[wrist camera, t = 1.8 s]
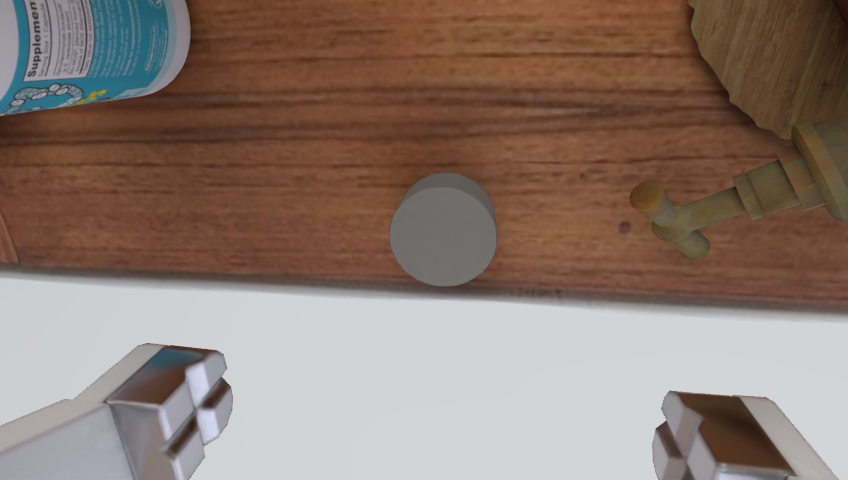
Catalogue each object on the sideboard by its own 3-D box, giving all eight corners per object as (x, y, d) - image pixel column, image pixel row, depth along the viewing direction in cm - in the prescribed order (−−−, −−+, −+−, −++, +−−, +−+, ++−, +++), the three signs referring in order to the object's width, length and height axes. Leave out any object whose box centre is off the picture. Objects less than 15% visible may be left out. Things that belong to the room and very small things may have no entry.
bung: (403, 249, 25) (389, 283, 21) (403, 163, 23) (388, 184, 19) (491, 254, 24) (492, 290, 21) (498, 167, 22) (501, 189, 19)
